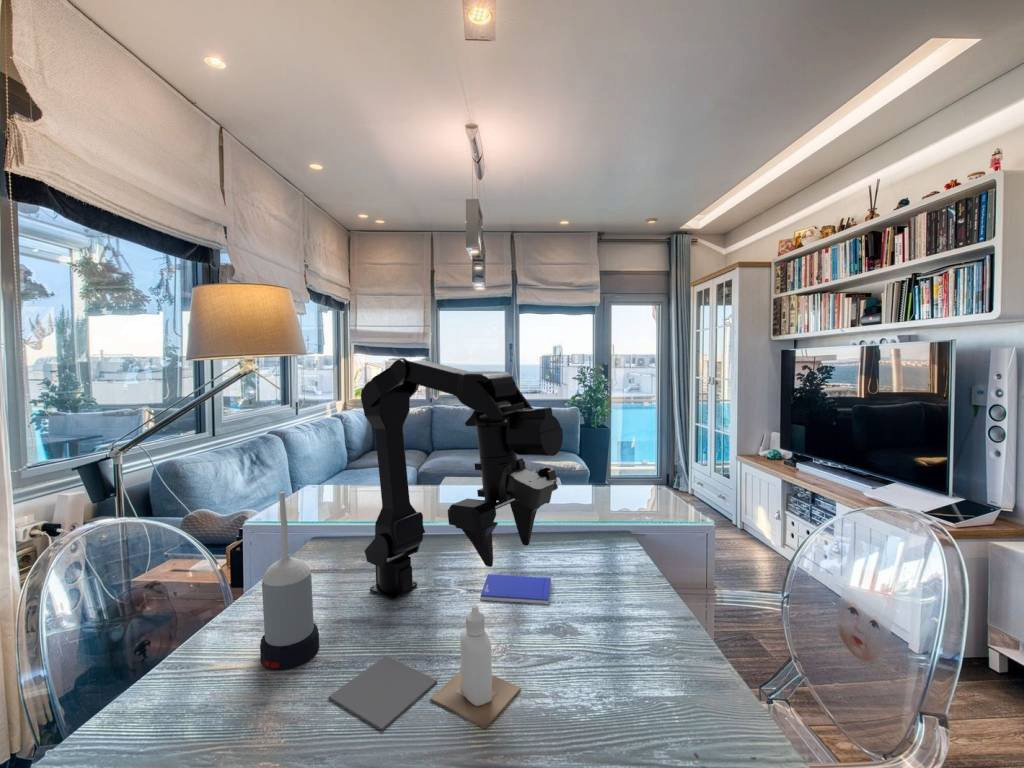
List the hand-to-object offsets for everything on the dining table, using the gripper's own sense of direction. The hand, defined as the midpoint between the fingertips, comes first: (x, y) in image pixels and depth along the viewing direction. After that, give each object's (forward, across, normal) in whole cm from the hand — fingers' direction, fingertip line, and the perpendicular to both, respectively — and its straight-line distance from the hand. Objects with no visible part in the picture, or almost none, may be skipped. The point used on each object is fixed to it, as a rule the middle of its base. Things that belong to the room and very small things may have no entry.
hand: (508, 555), depth 76 cm
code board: (+14, -12, -2) cm, 19 cm away
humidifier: (+11, -22, +26) cm, 36 cm away
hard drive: (+14, +13, +10) cm, 22 cm away
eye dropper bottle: (+14, -12, -2) cm, 19 cm away
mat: (+13, -18, +9) cm, 24 cm away
